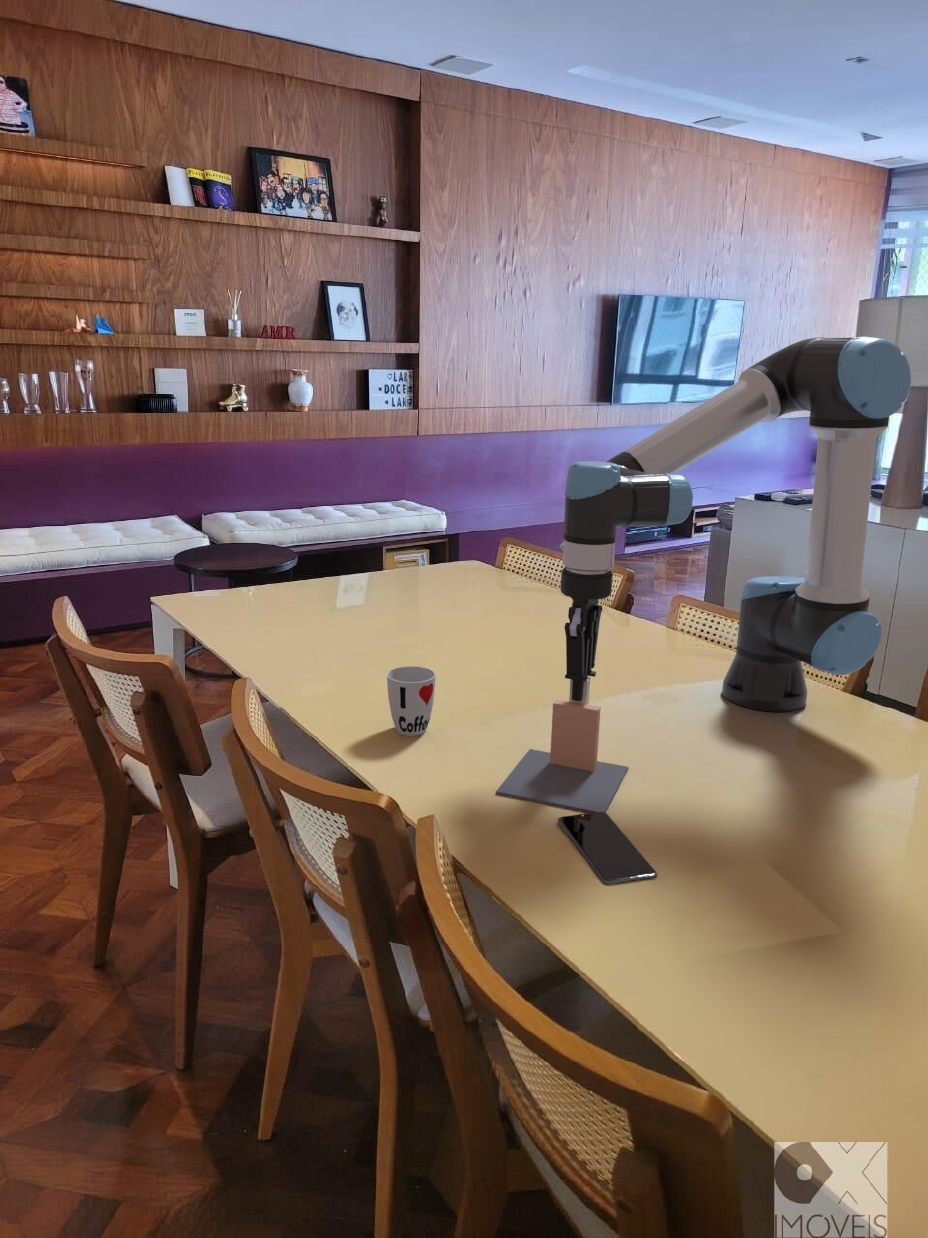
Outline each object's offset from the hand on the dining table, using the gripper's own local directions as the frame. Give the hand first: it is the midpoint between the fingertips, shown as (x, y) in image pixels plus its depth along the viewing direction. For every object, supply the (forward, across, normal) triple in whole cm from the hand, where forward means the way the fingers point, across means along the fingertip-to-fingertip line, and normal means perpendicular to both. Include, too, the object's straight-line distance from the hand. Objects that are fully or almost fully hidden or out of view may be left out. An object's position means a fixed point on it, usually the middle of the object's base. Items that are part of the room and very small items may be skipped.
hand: (577, 717), depth 140 cm
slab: (+7, +2, 0) cm, 7 cm away
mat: (+8, +7, 0) cm, 10 cm away
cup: (+8, -1, -29) cm, 30 cm away
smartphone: (+8, +23, +10) cm, 27 cm away
